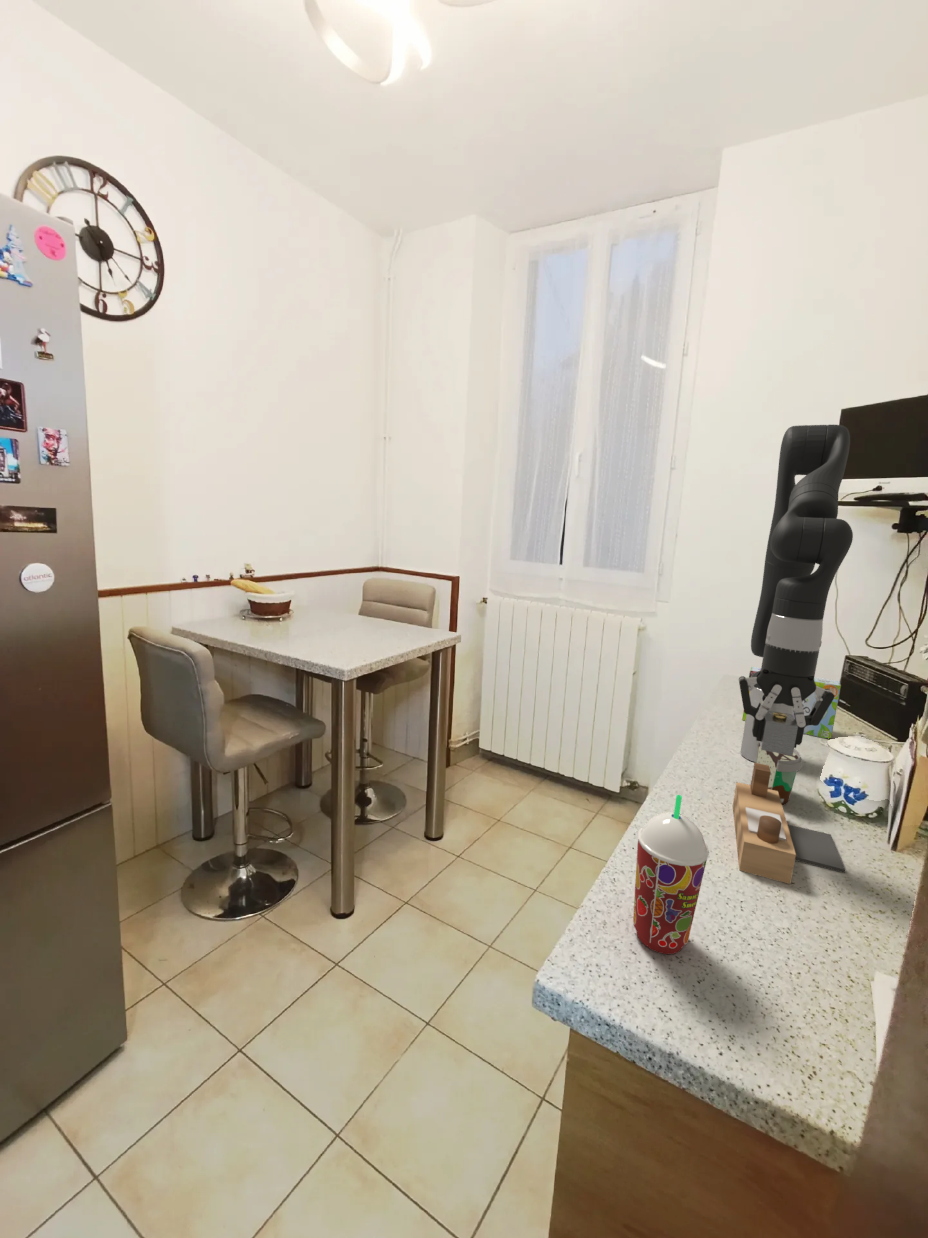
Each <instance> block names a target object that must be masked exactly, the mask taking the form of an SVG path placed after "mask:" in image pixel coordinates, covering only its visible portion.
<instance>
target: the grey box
mask: <svg viewBox="0 0 928 1238" xmlns="http://www.w3.org/2000/svg"><path fill="white" fill-rule="evenodd" d="M763 719H764V725H763V731H762V737H761V741H759V743H760V747H761V750H765V751H770V752H776V753H781V754H786V755H791V756H793V751H794V749H795V748H794V746H795V740H796V735H797V729H798V725H797V723H796V721H795V719H794V717H793V715H792V714H786V713H780V712H775V711H769V710H768V711H767V713H766V715H765V716H764V718H763Z"/></svg>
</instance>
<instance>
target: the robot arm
mask: <svg viewBox="0 0 928 1238" xmlns="http://www.w3.org/2000/svg"><path fill="white" fill-rule="evenodd" d="M850 447H851V434H850V431H849V429H848V428H847V427H846V426H844V425H842V424H811V425H807V424H803V425H792V426H790V427H788V428H787V429H786V430H785V432H784V435H783V437H782V440H781V445H780V451H779V459H778V470H777V479H776V481H777V482H776V488H775V489H776V490H775V491H776V492H775V501H774V508H773V513H772V514H773V515H772V520H771V524H770V529H769V534H768V538H767V539H768V540H767V546H766V552H765V558H764V567H763V575H762V582H761V583H762V584H761V585H762V586H761V591H760V596H759V602H758V606H757V611H756V614H755V619H754V623H753V628H752V633H751V640H750V650H751V652H752V654H753V655H754V656H756V657H759V658H762V663H761V667H760V668H761V670H760V671H758V672H755V673H754V674H753V677H749V676H748V677H746V676H742V675H741V676H740V677H739V678H738V683H739V689H740V696H741V701H742V707H743V711H744V712H745V713H746V720H745V721H744V727H743V733H742V739H741V744H740V745H741V746H740V751H739V753H740V755H741V756H742V757H743V758H744V759H747V760H749V761H751V762H753V763H756V758H757V750H758V746H757V743H758V741H761V737H762V731H763V725H764V719H763V718H764V716H765V715H766V713H767V711H768V710H769V711H775V712H780V713H786V714H792V715H793V712H794V717H795V721H796V723H797V725H798V729H797V735H796V740H795V746H794V749H796V748H797V746H801V744H802V742H803V737H804V734H803V733H804V728H805V727H806V726H809V725H814V726H817V725H819V723H820V721H821V720H822V718H823V716H824V715H825V713H826V711H827V709H828V708H829V706H830V704H831V703H832V701H833V699H834V694H833V693H832V692H831V690H830V689H823V688H820V687H818V686H816V684H815V681H814V677H816V676H815V675H816V671H817V665H818V659H819V654H820V648H821V646H822V643H823V642H822V638H823V626H824V625H823V624H824V623H823V621H824V616H825V611H826V605H827V600H828V596H829V591H830V590H831V589H830V588H831V586H832V583H833V581H834V579H835V577H836V574H837V572H838V570H839V568H840V567H841V565H842V564H843V561H844V560H845V557H846V556H847V555H848V553H849V550H850V548H851V546H852V544H853V541H854V532H853V529H852V527H851V525H850V524H849V522H847V520H844V519H841V518H838V514H839V491H840V487H841V483H842V481H843V478H844V474H845V470H846V466H847V461H848V457H849V452H850ZM796 476H803V477H802V478H801V479H800V480H798V481H797V483H796V479H795V477H796ZM815 565H818V567H817V569H816V570H815V571H814V569H815ZM813 571H814V572H813ZM749 691H750V695H749ZM813 692H815V698H816V700H817V702H816V703H815V705H814V707H813V709H812V710H811V712H810V714H809V715H807V716H804V710H803V705H802V701H803V700H805V699H806V698H807V697H808V696H810V695H811V694H812V693H813Z"/></svg>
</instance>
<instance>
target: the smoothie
mask: <svg viewBox="0 0 928 1238" xmlns="http://www.w3.org/2000/svg"><path fill="white" fill-rule="evenodd" d="M682 798H683V795H680V794H676V797H675V804H674V811H666V812H660V813H658V814H655V815H654V816H652V817H650V818H649V819H648V820H647V821H646V822H645V824H644V826H642V827H640V828H639V830H638V832H637V850H636V864H635V865H636V868H635V885H634V901H633V918H632V922H633V926H634V929H635V931H636V936H637V937H638V939H639V941H640V942H641V943H642V944H643V945H645V947H647V948H648V949H650V950H652V951H654V952H657V953H659V954H664V955H673V954H676V953H677V954H678V953H679V952H680V951H681V950H682V949H683V948H684V946H686V945H687V943H688V942H689V938H690V933H691V930H692V925H693V921H694V917H695V913H696V908H697V904H698V899H699V896H700V890H701V886H702V883H703V879H704V874H705V868H706V865H707V861H708V857H709V855H710V850H709V847H708V845H707V844H706V842H705V838H704V835H703V833H702V832H701V830H700V828H699V827H698V825H696V824H695V822H694V821H692V820H691V819H690V818H689V817H687V816H686V815H682V814H680V813H681V806H682V805H681V804H682Z"/></svg>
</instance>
